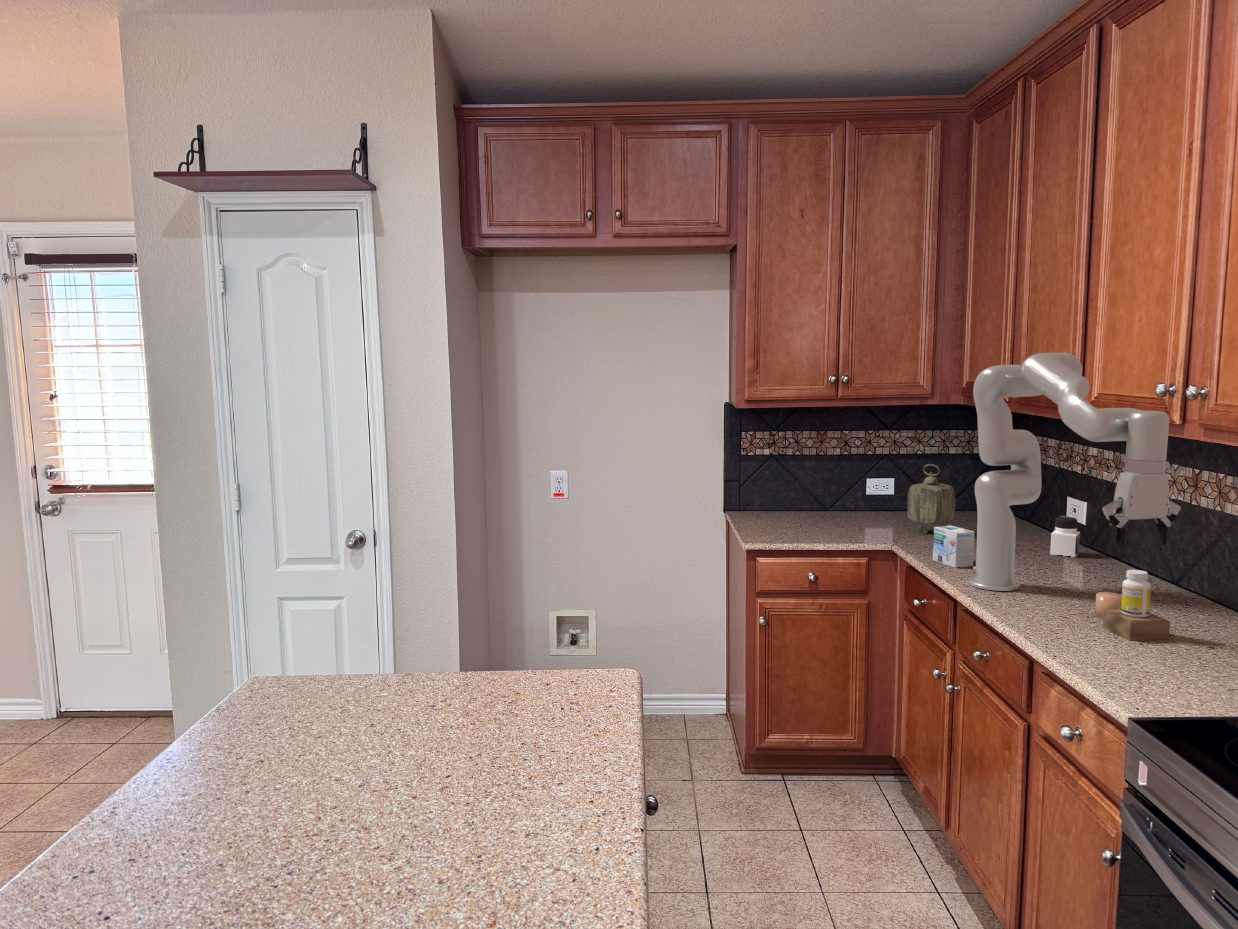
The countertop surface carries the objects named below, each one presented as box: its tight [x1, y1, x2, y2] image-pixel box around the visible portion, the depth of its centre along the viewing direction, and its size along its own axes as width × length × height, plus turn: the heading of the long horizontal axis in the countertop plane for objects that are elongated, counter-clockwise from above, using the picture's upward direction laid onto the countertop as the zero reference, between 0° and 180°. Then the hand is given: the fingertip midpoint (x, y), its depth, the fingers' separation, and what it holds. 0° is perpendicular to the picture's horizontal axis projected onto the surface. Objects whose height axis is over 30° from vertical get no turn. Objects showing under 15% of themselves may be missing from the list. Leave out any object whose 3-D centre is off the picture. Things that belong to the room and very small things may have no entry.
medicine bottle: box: [1049, 515, 1081, 558], centre depth 260 cm, size 7×7×12 cm
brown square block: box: [1102, 610, 1171, 641], centre depth 184 cm, size 9×9×4 cm
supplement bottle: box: [1121, 569, 1152, 617], centre depth 183 cm, size 5×5×10 cm
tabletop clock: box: [906, 463, 956, 535], centre depth 295 cm, size 14×9×25 cm, turn 32°
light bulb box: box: [932, 525, 976, 568], centre depth 250 cm, size 11×7×11 cm, turn 18°
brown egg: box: [1094, 591, 1122, 619], centre depth 197 cm, size 6×6×5 cm
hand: (1138, 543), depth 182 cm, fingers open, 9 cm apart
